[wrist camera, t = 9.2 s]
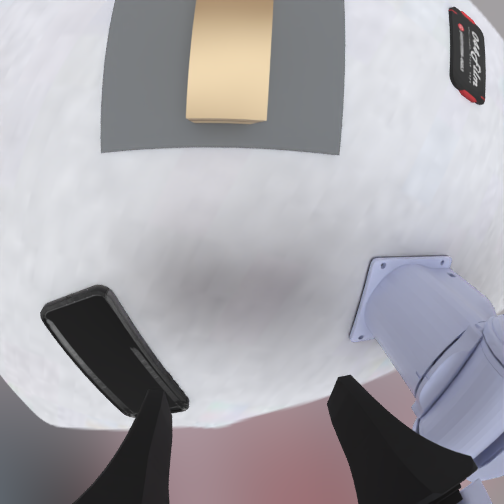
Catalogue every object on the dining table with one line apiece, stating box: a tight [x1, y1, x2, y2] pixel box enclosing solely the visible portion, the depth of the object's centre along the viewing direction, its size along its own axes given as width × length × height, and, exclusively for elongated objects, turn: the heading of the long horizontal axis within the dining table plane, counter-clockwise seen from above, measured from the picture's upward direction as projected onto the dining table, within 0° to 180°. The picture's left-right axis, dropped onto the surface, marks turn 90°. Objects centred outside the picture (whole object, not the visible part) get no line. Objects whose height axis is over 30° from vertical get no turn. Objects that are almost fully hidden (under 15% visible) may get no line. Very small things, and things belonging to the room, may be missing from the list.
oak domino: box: [186, 0, 273, 124], centre depth 10 cm, size 10×3×5 cm, turn 177°
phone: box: [40, 285, 189, 418], centre depth 20 cm, size 8×1×15 cm
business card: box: [449, 7, 486, 105], centre depth 13 cm, size 10×1×5 cm
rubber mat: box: [101, 0, 345, 155], centre depth 12 cm, size 14×12×1 cm
